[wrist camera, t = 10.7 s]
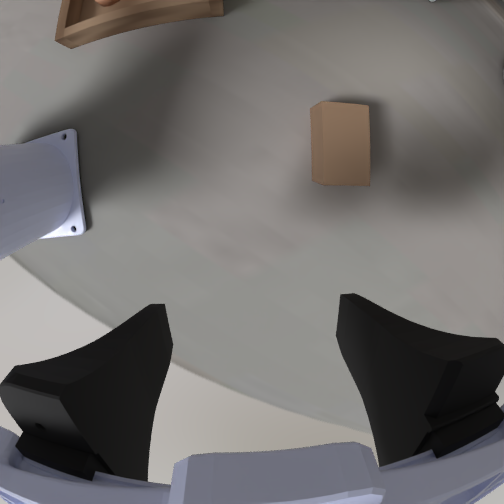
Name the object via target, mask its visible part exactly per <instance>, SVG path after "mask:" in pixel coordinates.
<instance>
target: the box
mask: <svg viewBox="0 0 504 504" xmlns="http://www.w3.org/2000/svg"><path fill="white" fill-rule="evenodd" d="M216 16H224V9H223V0H62V4H61V8H60V13H59V18H58V24H57V29H56V36H55V41H56V42H58V43H60V44H62V45H64V46H66V47H68V48H70V49H73V48H75V47H78V46H81V45H84V44H86V43H89V42H92V41H95V40H99V39H102V38H105V37H108V36H112V35H115V34H119V33H123V32H127V31H131V30H135V29H139V28H143V27H148V26H153V25H158V24H163V23H169V22H175V21H181V20H188V19H196V18H205V17H216Z"/></svg>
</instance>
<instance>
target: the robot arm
mask: <svg viewBox="0 0 504 504" xmlns="http://www.w3.org/2000/svg"><path fill="white" fill-rule="evenodd" d="M65 134H66V135H67V137H66V139H64V135H65ZM74 226H75V227H76V231H75V230H74ZM85 231H86V222H85V216H84V209H83V202H82V194H81V185H80V175H79V163H78V148H77V132H76V130H75V129H67V130H63V131H60V132H57V133H53V134H50V135H47V136H44V137H41V138H38V139H35V140H32V141H29V142H26V143H24V144H10V145H0V260H2V259H3V258H5V257H7V256H9V255H10V254H12V253H14V252H16V251H17V250H19V249H21V248H23V247H25V246H26V245H28V244H30V243H32V242H34V241H36V240H37V239H44V238H53V237H63V236H73V235H81V234H83V233H85ZM336 337H337V341H338V344H339V347H340V350H341V353H342V356H343V358H344V360H345V362H346V364H347V367H348V369H349V371H350V373H351V375H352V377H353V379H354V381H355V383H356V385H357V387H358V389H359V392H360V394H361V396H362V399H363V402H364V405H365V408H366V411H367V415H368V418H369V422H370V425H371V429H372V433H373V437H374V441H375V446H376V450H377V455H378V461H379V467H378V465H377V463H376V460H375V457H374V455H373V452H372V449H371V448H369V447H367V446H365V445H362V444H360V443H357V442H344V443H331V444H324V445H318V446H311V447H303V448H295V449H286V450H274V451H261V452H235V453H234V452H233V453H207V454H196V455H191V456H189V457H187V458H185V459H183V460H181V461H179V462H177V463H175V464H174V470H173V476H172V482H171V485H168V484H160V483H153V482H148V462H149V450H150V441H151V433H152V427H153V421H154V414H155V410H156V406H157V403H158V399H159V396H160V393H161V390H162V387H163V384H164V381H165V378H166V374H167V371H168V368H169V365H170V360H171V355H172V348H173V341H172V337H171V332H170V328H169V323H168V318H167V313H166V308H165V304H150V305H148V306H147V307H145V308H144V309H142V310H141V311H139V312H138V313H136V314H135V315H134V316H132V317H131V318H129V319H128V320H127V321H125V322H124V323H122V324H121V325H120V326H118V327H117V328H115V329H113V330H112V331H110V332H109V333H107V334H106V335H104V336H103V337H101V338H99V339H97V340H95V341H94V342H92V343H90V344H88V345H86V346H84V347H81V348H79V349H76V350H74V351H72V352H69V353H67V354H64V355H61V356H59V357H55V358H52V359H48V360H45V361H40V362H36V363H30V364H24V365H17V366H14V368H13V369H12V370H11V372H10V373H9V374H8V375H7V376H6V378H5V379H4V380H3V381H2V383H1V384H0V397H1V400H2V402H3V404H4V405H5V407H6V409H7V410H8V412H9V413H10V414H11V416H12V417H13V418H14V420H15V421H16V423H17V424H18V425H19V427H20V428H21V429H22V431H23V433H22V435H21V437H19V436H17V435H16V434H15V433H13V432H12V431H10V430H7V429H5V428H3V427H1V426H0V497H1V498H2V499H3V500H4V501H6V502H7V503H8V504H474V503H475V502H477V501H479V500H480V499H482V498H483V497H485V496H486V495H487V494H489V493H490V492H492V491H493V490H494V489H496V488H497V487H499V486H500V485H501V484H503V483H504V404H503V405H502V406H501V408H500V407H499V406H498V405H497V403H496V402H498V400H499V396H498V395H497V394H496V393H495V391H496V389H497V387H498V385H499V383H500V381H501V379H502V377H503V376H504V344H503V343H502V342H501V341H500V340H498V339H497V338H482V337H469V336H462V335H456V334H451V333H446V332H442V331H438V330H434V329H431V328H428V327H425V326H422V325H419V324H417V323H414V322H411V321H409V320H407V319H405V318H402V317H400V316H398V315H396V314H394V313H392V312H390V311H388V310H386V309H384V308H382V307H380V306H379V305H377V304H375V303H373V302H371V301H369V300H367V299H366V298H364V297H362V296H360V295H357V294H355V293H352V294H341V295H340V305H339V314H338V323H337V331H336Z"/></svg>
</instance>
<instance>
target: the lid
mask: <svg viewBox="0 0 504 504" xmlns="http://www.w3.org/2000/svg"><path fill="white" fill-rule="evenodd" d="M310 117H311V145H312V181H314V182H317V183H319V184H322V185H353V186H370V124H369V106H368V105H359V104H350V103H338V102H325V101H321V102H320V103H318V104H316V105H315V106H313V107H312V108H310Z"/></svg>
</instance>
